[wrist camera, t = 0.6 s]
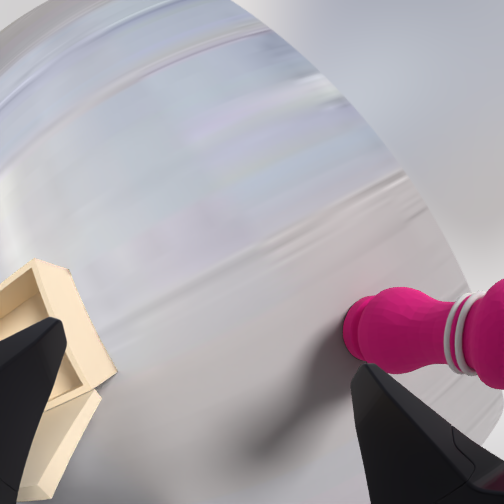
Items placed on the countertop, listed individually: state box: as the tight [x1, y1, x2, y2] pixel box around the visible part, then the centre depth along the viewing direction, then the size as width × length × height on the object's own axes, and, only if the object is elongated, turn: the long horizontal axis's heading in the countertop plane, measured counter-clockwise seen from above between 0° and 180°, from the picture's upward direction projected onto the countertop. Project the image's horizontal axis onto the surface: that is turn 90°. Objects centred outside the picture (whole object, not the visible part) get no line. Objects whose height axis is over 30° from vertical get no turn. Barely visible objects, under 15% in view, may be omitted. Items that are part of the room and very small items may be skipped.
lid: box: [16, 389, 102, 502], centre depth 8 cm, size 10×14×1 cm
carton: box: [0, 258, 118, 411], centre depth 17 cm, size 10×14×6 cm
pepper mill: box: [343, 279, 504, 390], centre depth 15 cm, size 7×7×20 cm
